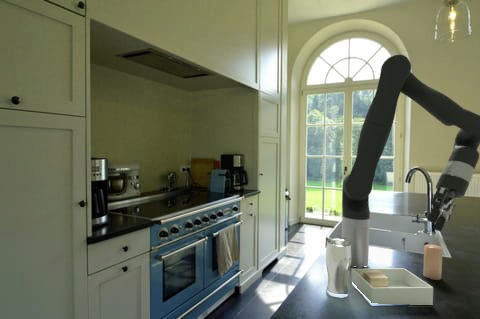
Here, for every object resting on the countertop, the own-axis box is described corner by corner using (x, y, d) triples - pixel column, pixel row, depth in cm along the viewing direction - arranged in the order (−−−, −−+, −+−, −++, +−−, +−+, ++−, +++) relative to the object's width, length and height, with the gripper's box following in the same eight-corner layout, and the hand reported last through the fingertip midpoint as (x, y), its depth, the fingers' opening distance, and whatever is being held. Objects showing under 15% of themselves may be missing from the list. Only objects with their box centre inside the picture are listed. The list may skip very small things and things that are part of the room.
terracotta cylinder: (425, 278, 97) (426, 248, 97) (421, 272, 102) (422, 243, 101) (443, 280, 96) (444, 250, 95) (438, 274, 100) (439, 245, 100)
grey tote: (371, 306, 79) (372, 288, 79) (351, 284, 92) (351, 268, 92) (432, 305, 80) (433, 287, 80) (404, 284, 93) (404, 268, 93)
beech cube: (387, 295, 83) (388, 277, 83) (370, 295, 83) (370, 278, 83) (378, 287, 88) (378, 270, 88) (361, 287, 88) (362, 270, 88)
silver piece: (330, 285, 91) (331, 237, 90) (353, 292, 87) (355, 242, 86) (320, 294, 86) (322, 242, 85) (345, 302, 81) (346, 248, 81)
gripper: (445, 184, 99) (425, 228, 97) (436, 166, 89) (415, 214, 87) (472, 191, 93) (452, 237, 91) (466, 172, 84) (444, 223, 82)
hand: (434, 226), depth 89 cm, fingers open, 8 cm apart
